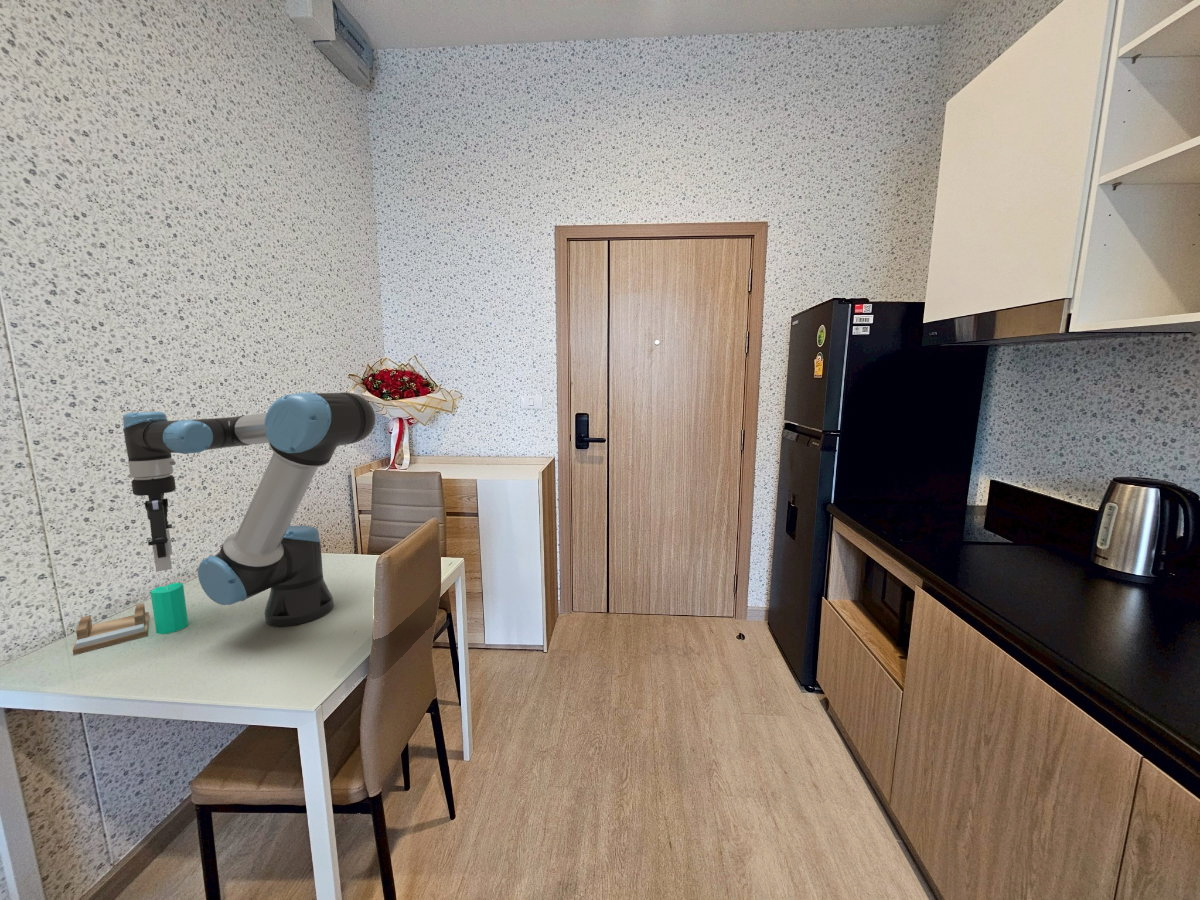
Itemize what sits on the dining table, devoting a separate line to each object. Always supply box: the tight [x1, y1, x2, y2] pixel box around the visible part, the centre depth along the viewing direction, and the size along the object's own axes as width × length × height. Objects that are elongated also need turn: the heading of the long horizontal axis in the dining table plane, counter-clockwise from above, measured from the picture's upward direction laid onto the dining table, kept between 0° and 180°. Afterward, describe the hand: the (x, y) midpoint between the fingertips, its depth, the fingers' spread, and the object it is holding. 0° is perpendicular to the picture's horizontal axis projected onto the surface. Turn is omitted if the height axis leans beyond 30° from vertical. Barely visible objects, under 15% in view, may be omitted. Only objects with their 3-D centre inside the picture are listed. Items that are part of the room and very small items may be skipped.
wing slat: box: [75, 624, 144, 648], centre depth 111 cm, size 2×11×1 cm, turn 132°
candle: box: [150, 581, 189, 635], centre depth 117 cm, size 6×6×12 cm
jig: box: [72, 602, 150, 656], centre depth 114 cm, size 14×12×4 cm
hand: (164, 562), depth 116 cm, fingers open, 13 cm apart
